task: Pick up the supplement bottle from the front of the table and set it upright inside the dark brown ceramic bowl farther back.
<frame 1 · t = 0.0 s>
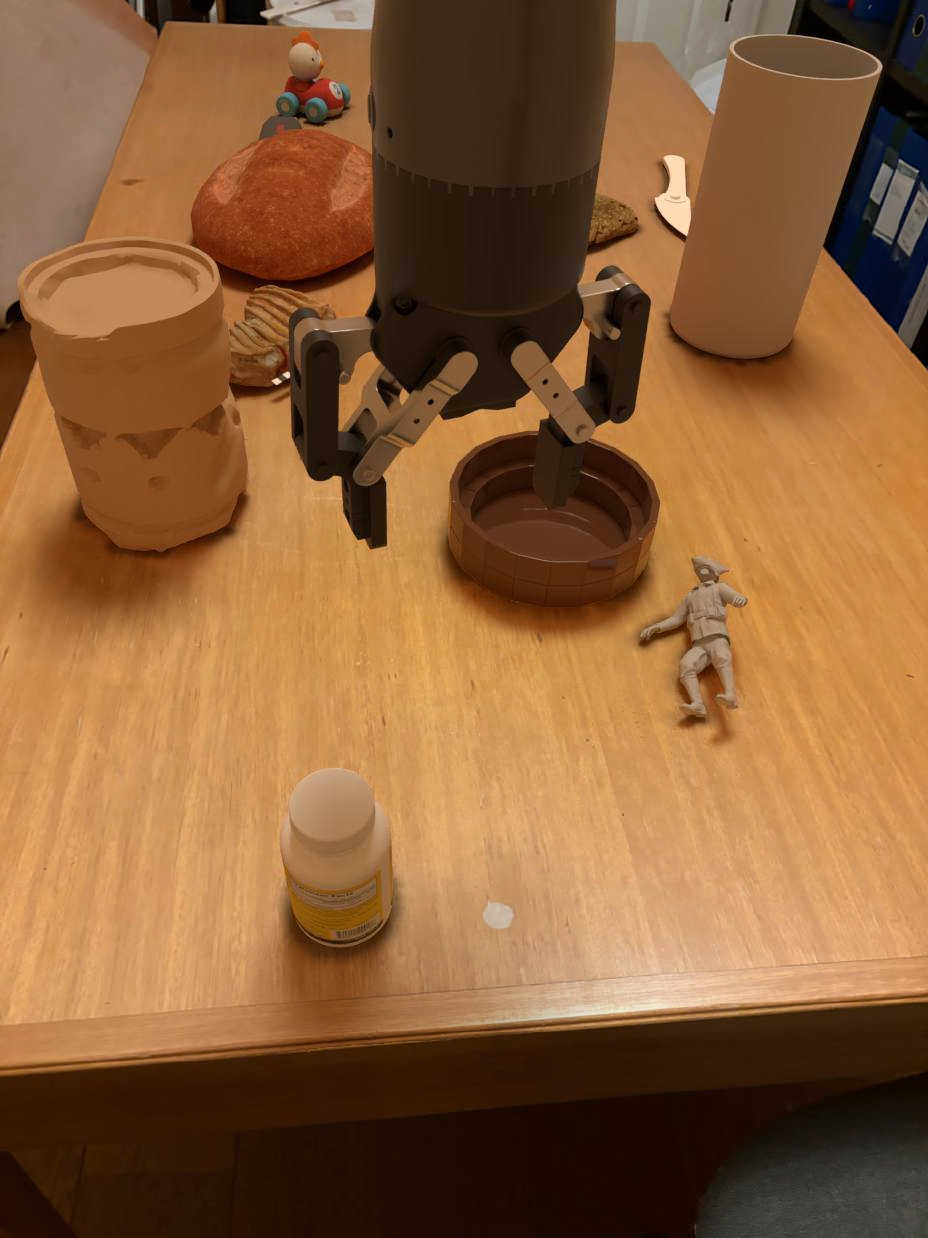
hand: (463, 517, 42), 20 cm above the table, tool pointing down, fingers open, 8 cm apart
container: (170, 501, 73), on the table
toy car: (314, 112, 134), on the table
cylinder vase: (728, 331, 96), on the table
bowl: (546, 542, 71), on the table
supplement bottle: (342, 904, 50), on the table
soldier figure: (698, 658, 64), on the table
bread: (298, 229, 107), on the table
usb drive: (282, 150, 124), on the table
knife: (671, 199, 118), on the table
fossil: (283, 370, 86), on the table
pastry: (565, 224, 112), on the table
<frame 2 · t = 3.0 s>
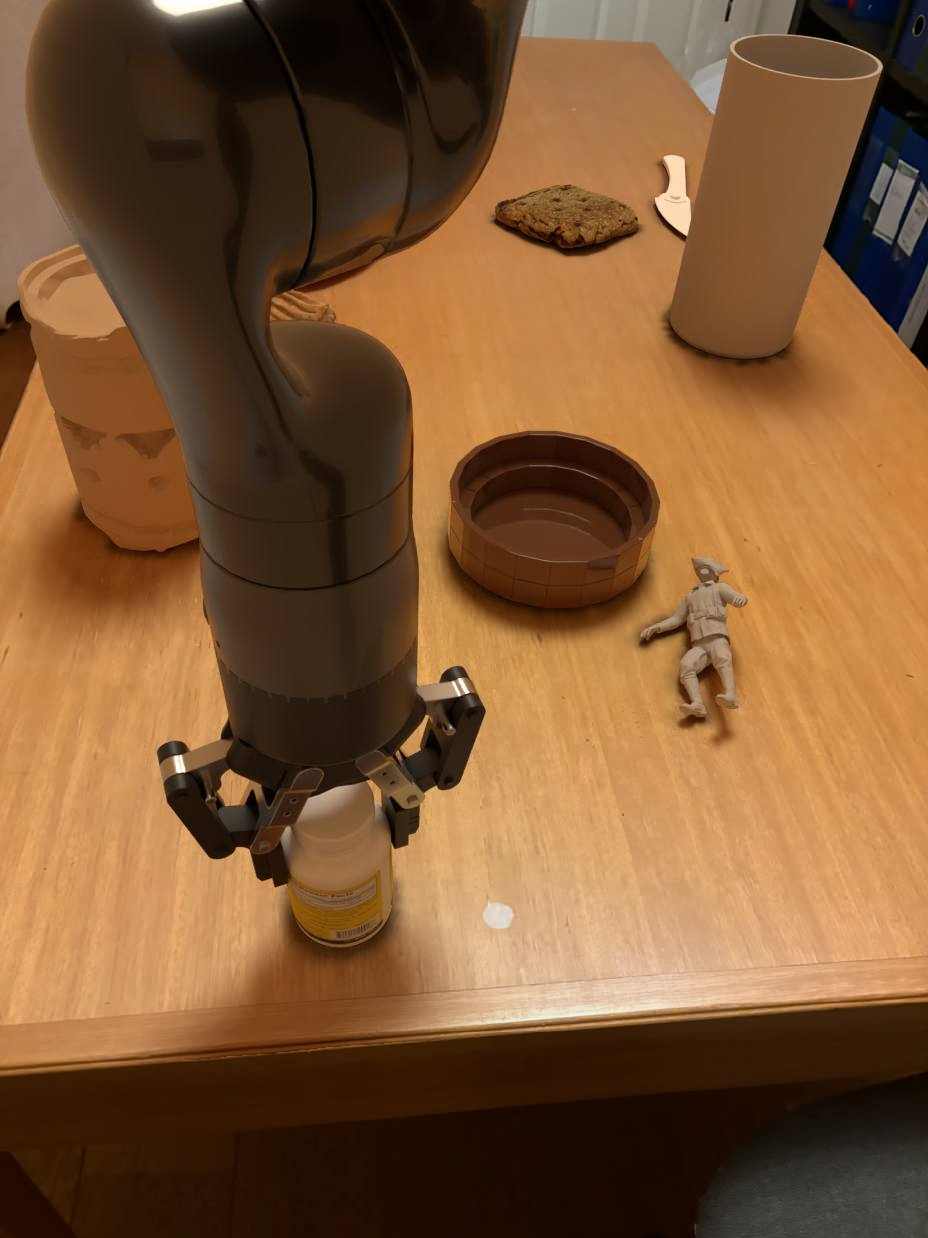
hand: (337, 850, 46), 5 cm above the table, tool pointing down, fingers closed on supplement bottle, 5 cm apart
supplement bottle: (342, 904, 50), on the table, touching gripper
everything else where it was.
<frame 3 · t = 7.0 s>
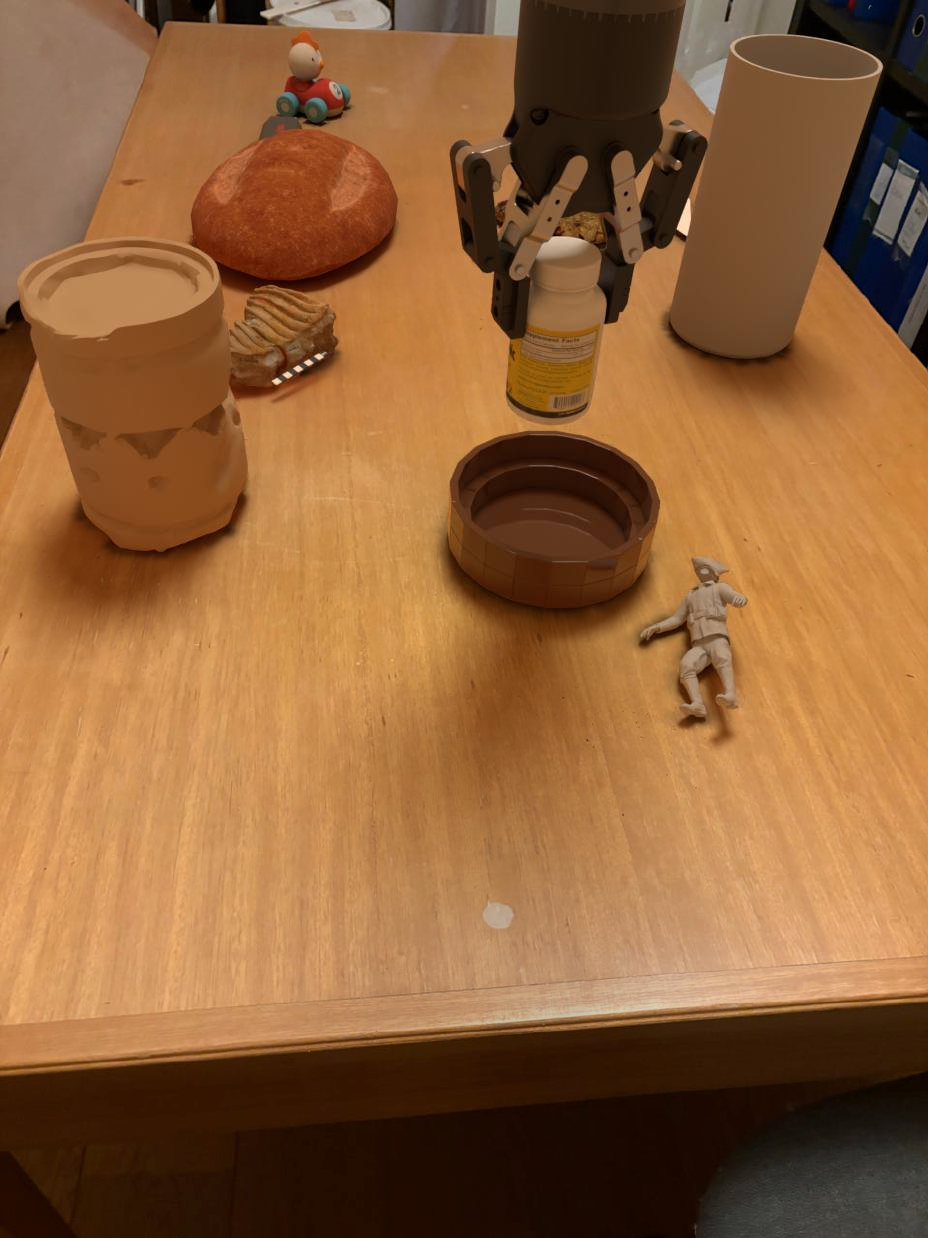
hand: (558, 323, 54), 20 cm above the table, tool pointing down, fingers closed on supplement bottle, 5 cm apart
supplement bottle: (546, 405, 58), point 14 cm above the table, touching gripper
everything else where it was.
when the fingers open (6 cm above the table, at t = 10.9 s): supplement bottle stays where it is, resting on bowl.
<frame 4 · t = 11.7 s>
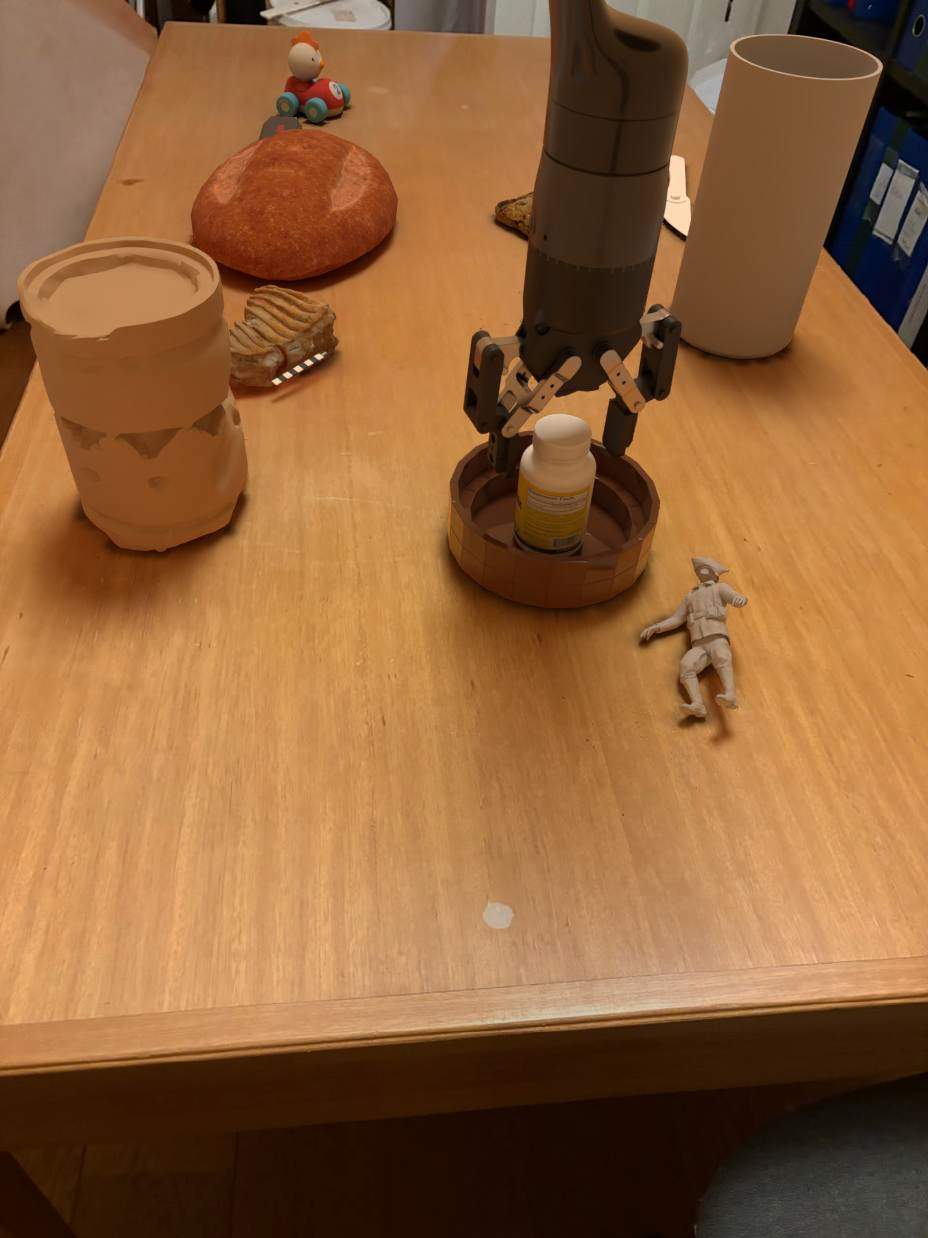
hand: (559, 461, 66), 8 cm above the table, tool pointing down, fingers open, 8 cm apart
supplement bottle: (547, 539, 71), resting on bowl
everything else where it was.
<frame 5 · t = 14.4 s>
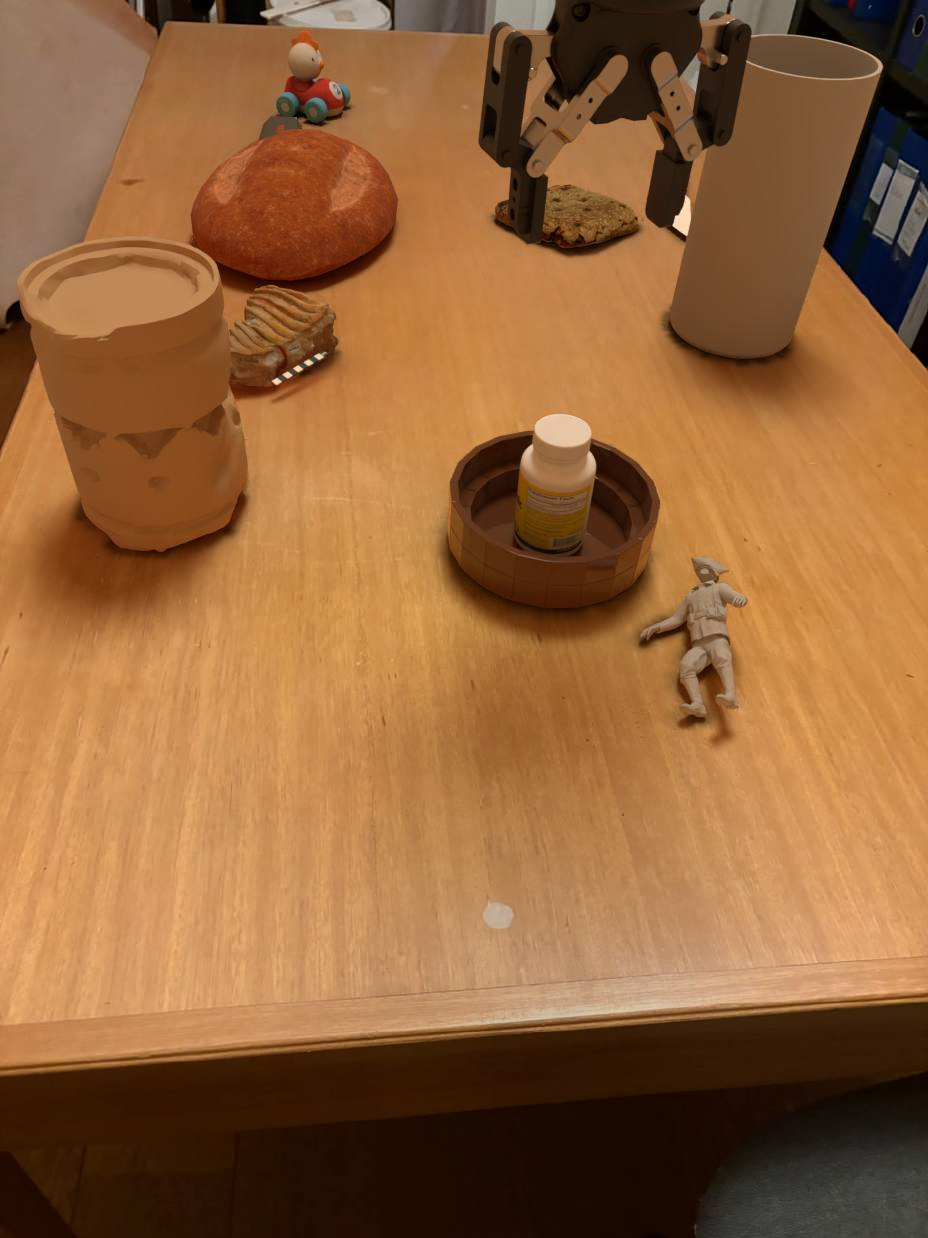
hand: (594, 229, 54), 24 cm above the table, tool pointing down, fingers open, 8 cm apart
nothing on the table moved.
at the end: supplement bottle inside the target area in the bowl (0.1 cm from its centre), point 0.4 cm above the bowl's base; supplement bottle tilted 0°; the gripper is holding nothing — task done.
